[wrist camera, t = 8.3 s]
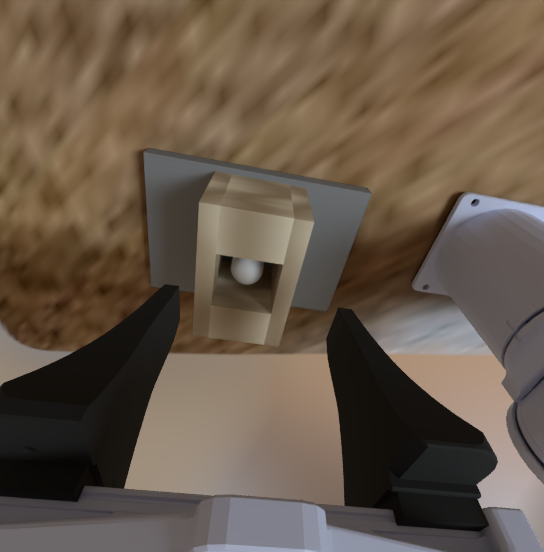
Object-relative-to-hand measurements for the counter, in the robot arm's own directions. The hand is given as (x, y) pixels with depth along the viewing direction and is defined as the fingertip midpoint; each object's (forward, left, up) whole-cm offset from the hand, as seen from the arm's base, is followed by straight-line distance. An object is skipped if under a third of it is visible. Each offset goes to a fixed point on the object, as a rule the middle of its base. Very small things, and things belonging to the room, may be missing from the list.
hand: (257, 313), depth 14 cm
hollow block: (+1, +1, -8) cm, 8 cm away
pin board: (+1, +1, -9) cm, 9 cm away
